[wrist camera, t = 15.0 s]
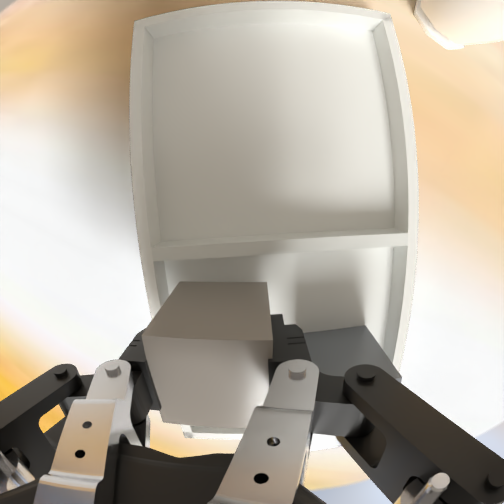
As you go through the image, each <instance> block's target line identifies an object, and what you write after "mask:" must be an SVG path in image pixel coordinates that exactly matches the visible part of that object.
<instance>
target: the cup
mask: <svg viewBox="0 0 504 504" xmlns="http://www.w3.org/2000/svg"><path fill="white" fill-rule="evenodd" d="M414 16H415V17H416V19H417V20H418V22H419V24H420V25H421V27H422V28H423V30H424V31H425V33H426V35H427V36H429V37H430V38H432V39H433V40H435V41H436V42H437V43H439V44H440V45H442V46H443V47H444V48H446V49H447V50H450V49H462V48H464V47H465V45H475V44H484V43H495V42H500V41H504V0H417V1H416V5H415V10H414Z"/></svg>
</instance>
